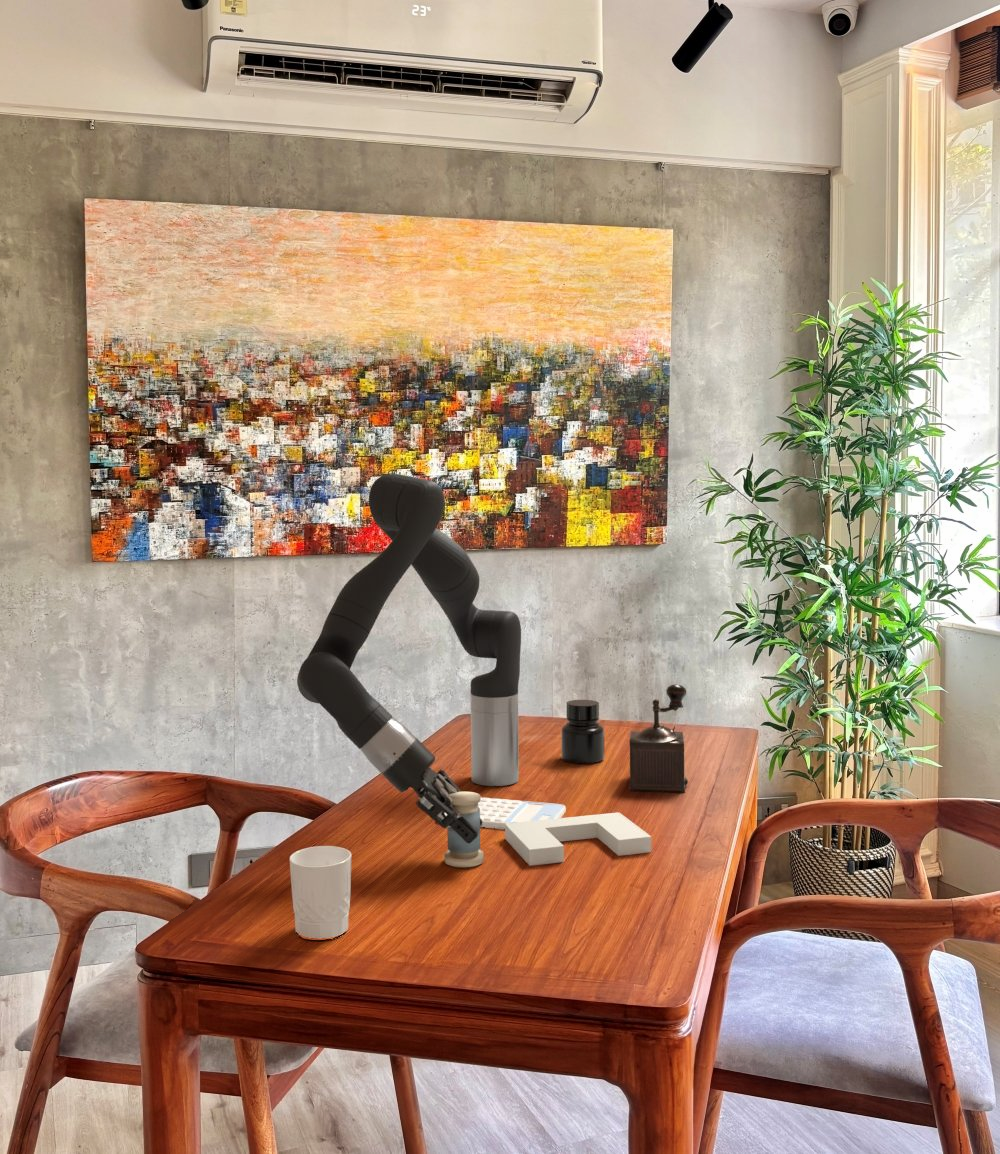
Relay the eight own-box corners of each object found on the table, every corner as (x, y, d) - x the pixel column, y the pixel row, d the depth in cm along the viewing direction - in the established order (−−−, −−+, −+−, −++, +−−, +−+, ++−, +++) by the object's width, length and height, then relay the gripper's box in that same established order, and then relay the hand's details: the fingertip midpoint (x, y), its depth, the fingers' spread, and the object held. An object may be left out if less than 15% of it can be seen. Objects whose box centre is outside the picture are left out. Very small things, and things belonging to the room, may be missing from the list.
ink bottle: (613, 757, 227) (613, 701, 225) (593, 767, 219) (593, 709, 218) (572, 751, 232) (572, 696, 231) (552, 760, 224) (551, 704, 223)
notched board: (505, 838, 175) (504, 823, 175) (619, 826, 181) (619, 812, 181) (529, 865, 163) (529, 849, 163) (651, 852, 169) (651, 836, 168)
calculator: (460, 803, 197) (460, 793, 196) (567, 813, 191) (567, 802, 191) (435, 826, 184) (435, 815, 184) (548, 836, 178) (548, 825, 178)
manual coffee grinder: (688, 793, 200) (689, 698, 199) (628, 791, 202) (629, 696, 200) (685, 771, 215) (686, 682, 214) (630, 769, 217) (630, 681, 215)
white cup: (294, 919, 143) (292, 846, 143) (354, 917, 144) (352, 844, 143) (288, 945, 136) (286, 867, 135) (351, 942, 136) (349, 865, 135)
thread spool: (440, 856, 167) (439, 792, 166) (477, 851, 169) (476, 789, 168) (450, 869, 161) (449, 804, 160) (488, 864, 163) (487, 800, 162)
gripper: (405, 749, 157) (488, 831, 157) (422, 726, 171) (498, 802, 171) (370, 784, 158) (452, 866, 158) (390, 758, 172) (465, 834, 172)
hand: (476, 832), depth 164 cm, fingers closed on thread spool, 5 cm apart
